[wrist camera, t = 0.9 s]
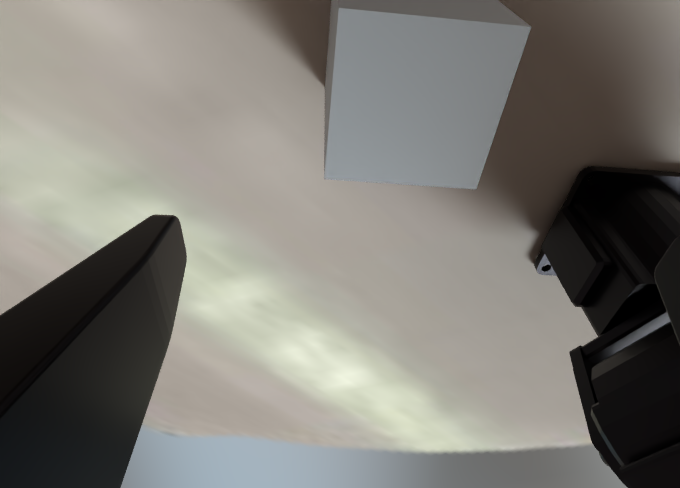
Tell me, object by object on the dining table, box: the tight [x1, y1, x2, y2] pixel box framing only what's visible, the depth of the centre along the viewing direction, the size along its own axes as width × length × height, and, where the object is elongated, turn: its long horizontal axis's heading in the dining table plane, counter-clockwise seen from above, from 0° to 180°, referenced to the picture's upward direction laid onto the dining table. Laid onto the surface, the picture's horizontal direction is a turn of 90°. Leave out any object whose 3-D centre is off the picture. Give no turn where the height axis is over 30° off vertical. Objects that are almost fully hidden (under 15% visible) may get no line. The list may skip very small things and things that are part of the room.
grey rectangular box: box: [324, 0, 531, 189], centre depth 15 cm, size 4×4×7 cm
